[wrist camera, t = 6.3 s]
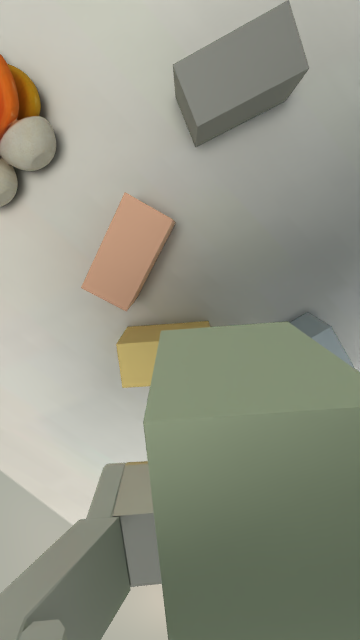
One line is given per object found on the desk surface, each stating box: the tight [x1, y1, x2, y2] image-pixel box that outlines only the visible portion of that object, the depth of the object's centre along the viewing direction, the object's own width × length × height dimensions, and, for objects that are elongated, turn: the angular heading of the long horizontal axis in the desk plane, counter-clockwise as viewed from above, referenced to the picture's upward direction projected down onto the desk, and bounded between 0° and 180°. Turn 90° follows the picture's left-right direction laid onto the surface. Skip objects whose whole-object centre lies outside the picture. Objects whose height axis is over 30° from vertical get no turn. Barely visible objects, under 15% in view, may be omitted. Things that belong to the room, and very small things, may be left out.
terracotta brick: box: [81, 193, 176, 311], centre depth 23 cm, size 7×4×4 cm, turn 152°
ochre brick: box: [116, 321, 210, 388], centre depth 25 cm, size 7×4×4 cm, turn 95°
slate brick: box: [290, 312, 355, 369], centre depth 25 cm, size 7×4×4 cm, turn 34°
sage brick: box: [143, 321, 360, 640], centre depth 7 cm, size 7×4×4 cm, turn 4°
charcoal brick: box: [173, 0, 309, 147], centre depth 20 cm, size 7×4×4 cm, turn 115°
